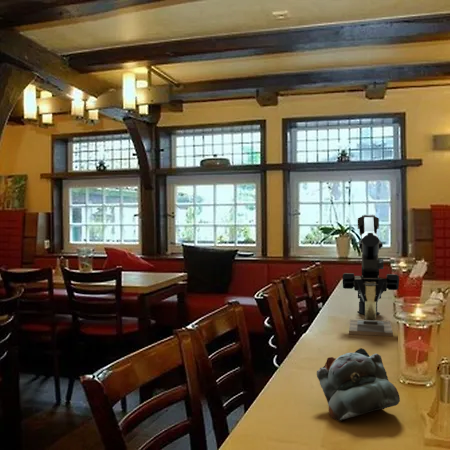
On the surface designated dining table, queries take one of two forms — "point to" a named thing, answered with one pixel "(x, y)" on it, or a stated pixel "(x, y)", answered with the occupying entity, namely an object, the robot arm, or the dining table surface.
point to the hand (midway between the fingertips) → (370, 301)
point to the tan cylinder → (370, 300)
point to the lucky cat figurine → (356, 385)
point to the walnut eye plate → (386, 326)
